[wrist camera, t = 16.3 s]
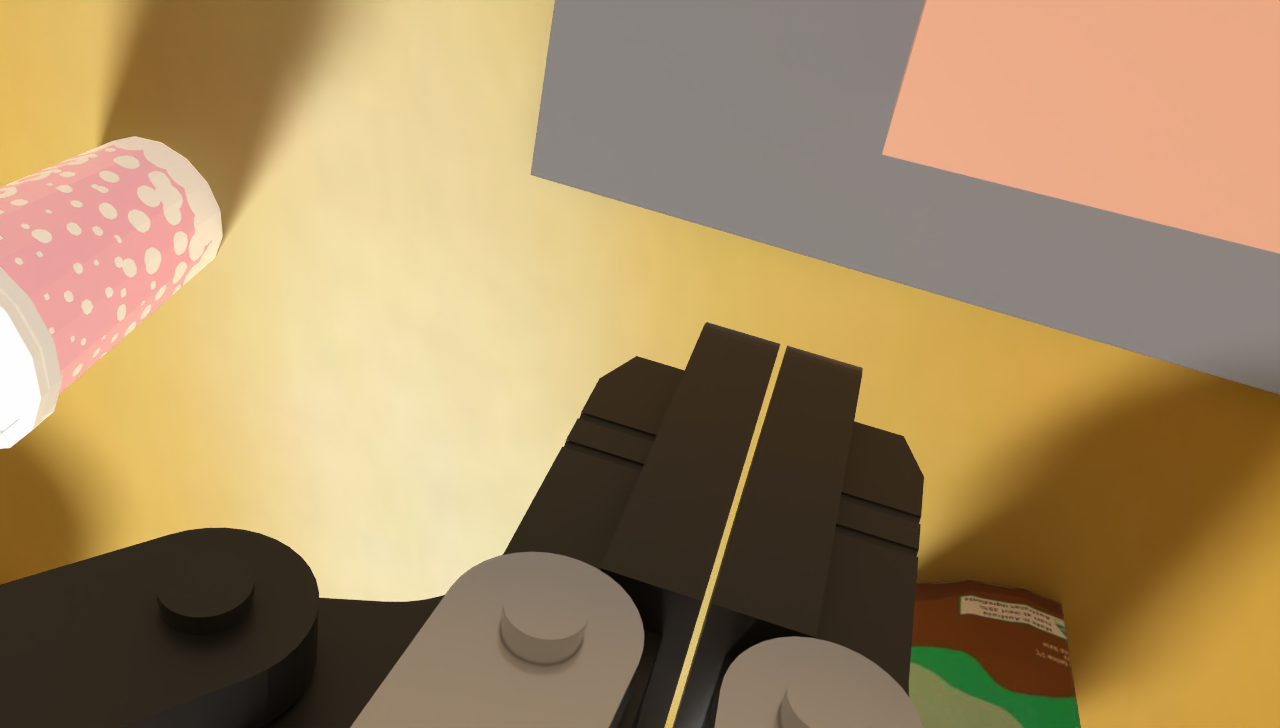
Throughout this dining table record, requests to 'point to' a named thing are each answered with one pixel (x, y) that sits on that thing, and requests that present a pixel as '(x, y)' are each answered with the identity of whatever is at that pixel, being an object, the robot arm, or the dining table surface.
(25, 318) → the beverage cup
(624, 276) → the dining table surface
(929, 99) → the block
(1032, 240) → the mat
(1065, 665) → the food container
